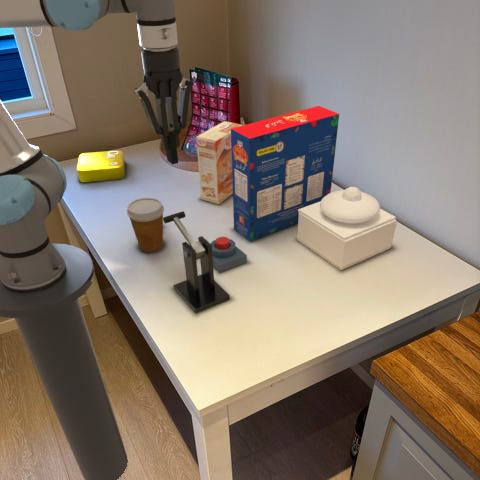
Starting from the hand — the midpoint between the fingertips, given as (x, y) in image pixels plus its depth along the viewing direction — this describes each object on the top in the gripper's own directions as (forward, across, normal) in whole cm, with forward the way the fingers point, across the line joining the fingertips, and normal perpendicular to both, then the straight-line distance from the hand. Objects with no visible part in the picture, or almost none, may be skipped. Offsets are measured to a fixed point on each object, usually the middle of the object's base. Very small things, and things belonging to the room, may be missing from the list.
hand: (172, 161), depth 112 cm
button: (+21, +7, -9) cm, 24 cm away
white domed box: (+25, +37, -21) cm, 49 cm away
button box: (+24, +7, -9) cm, 27 cm away
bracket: (+24, -5, -19) cm, 31 cm away
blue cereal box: (+25, +31, -2) cm, 40 cm away
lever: (+12, -5, -14) cm, 19 cm away
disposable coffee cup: (+25, -6, +7) cm, 26 cm away
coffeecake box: (+25, +26, +23) cm, 43 cm away
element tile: (+25, 0, +60) cm, 65 cm away
